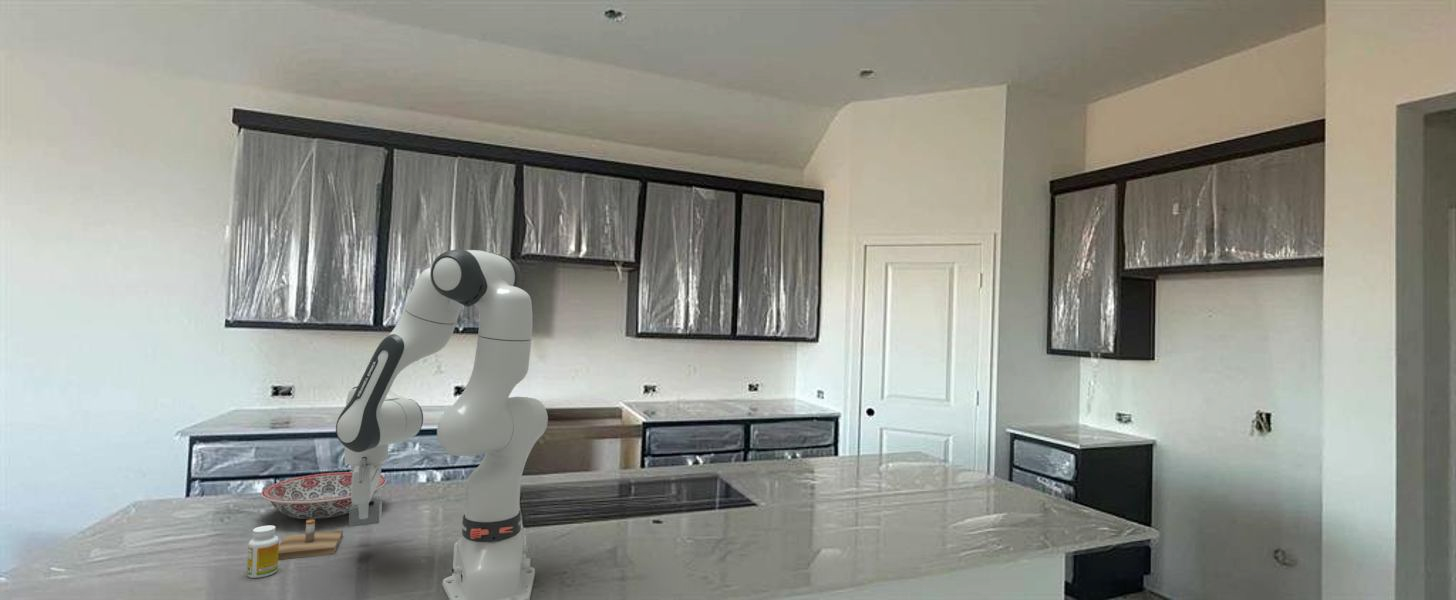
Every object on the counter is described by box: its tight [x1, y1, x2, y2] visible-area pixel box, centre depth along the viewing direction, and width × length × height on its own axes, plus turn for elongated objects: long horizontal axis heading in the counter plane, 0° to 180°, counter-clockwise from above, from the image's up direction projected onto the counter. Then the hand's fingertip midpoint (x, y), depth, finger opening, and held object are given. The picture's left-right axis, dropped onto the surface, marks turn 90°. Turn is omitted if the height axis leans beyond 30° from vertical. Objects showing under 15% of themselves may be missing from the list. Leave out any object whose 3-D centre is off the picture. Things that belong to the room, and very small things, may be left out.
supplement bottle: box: [246, 524, 280, 579], centre depth 138 cm, size 5×5×10 cm
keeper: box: [278, 519, 344, 561], centre depth 152 cm, size 12×12×6 cm
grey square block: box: [348, 498, 383, 528], centre depth 147 cm, size 6×6×4 cm
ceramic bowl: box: [260, 471, 387, 520], centre depth 176 cm, size 29×29×8 cm
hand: (366, 513), depth 147 cm, fingers closed on grey square block, 6 cm apart
